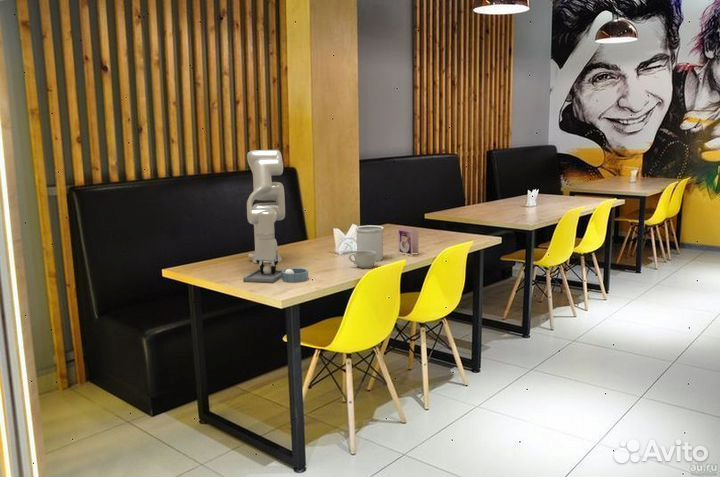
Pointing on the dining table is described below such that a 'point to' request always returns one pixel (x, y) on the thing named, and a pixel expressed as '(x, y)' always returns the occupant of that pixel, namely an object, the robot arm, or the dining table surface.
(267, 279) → the parts tray
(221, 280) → the dining table surface
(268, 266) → the pebble
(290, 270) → the pebble
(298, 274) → the bowl
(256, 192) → the robot arm
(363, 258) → the teacup
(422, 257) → the dining table surface
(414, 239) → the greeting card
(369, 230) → the utensil holder
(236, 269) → the dining table surface
